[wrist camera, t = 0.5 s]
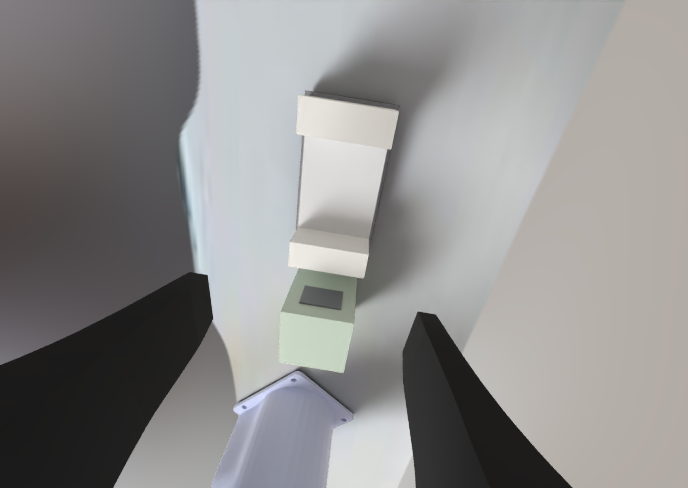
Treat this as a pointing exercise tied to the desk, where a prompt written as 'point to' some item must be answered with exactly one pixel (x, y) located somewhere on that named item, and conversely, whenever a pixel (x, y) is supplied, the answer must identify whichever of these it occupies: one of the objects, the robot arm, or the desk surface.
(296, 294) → the sage module
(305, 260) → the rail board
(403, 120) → the desk surface
